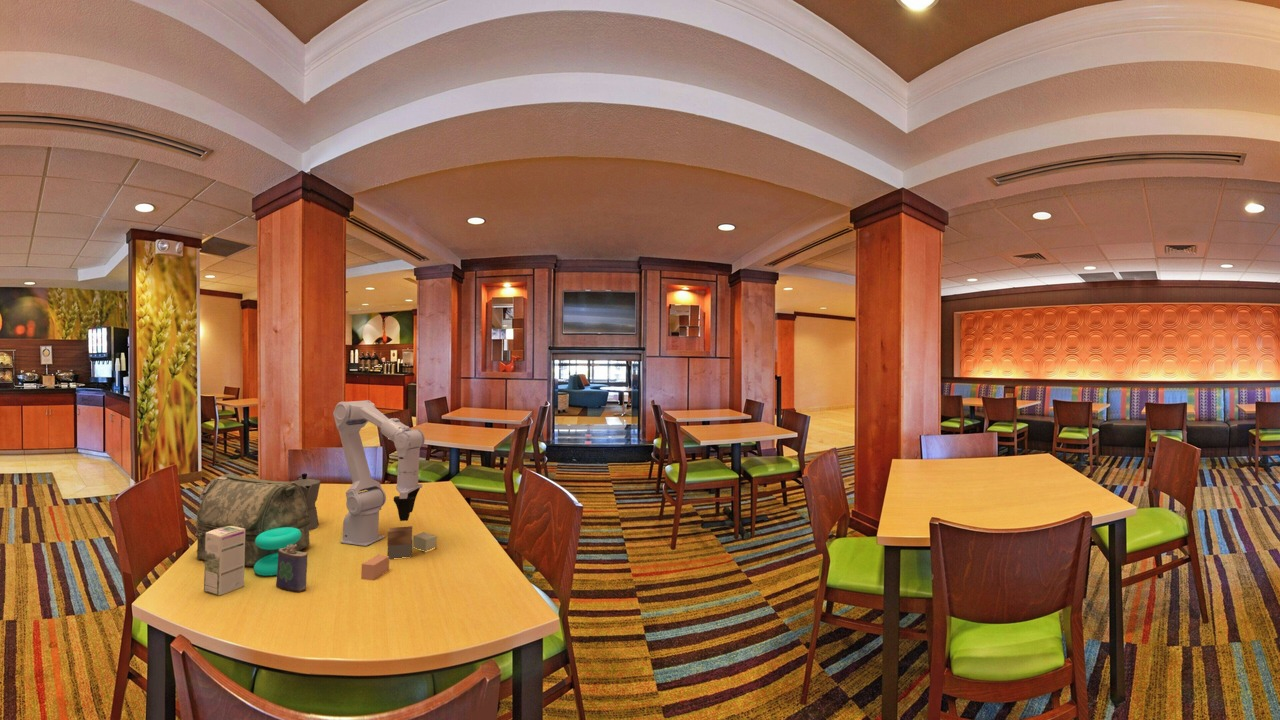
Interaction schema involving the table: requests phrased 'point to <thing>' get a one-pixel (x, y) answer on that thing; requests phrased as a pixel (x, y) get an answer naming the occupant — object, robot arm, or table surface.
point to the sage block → (424, 541)
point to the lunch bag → (252, 511)
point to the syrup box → (224, 560)
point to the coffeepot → (310, 497)
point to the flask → (291, 569)
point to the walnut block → (399, 536)
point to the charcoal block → (399, 551)
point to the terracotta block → (375, 567)
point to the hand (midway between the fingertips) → (406, 516)
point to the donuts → (274, 547)
